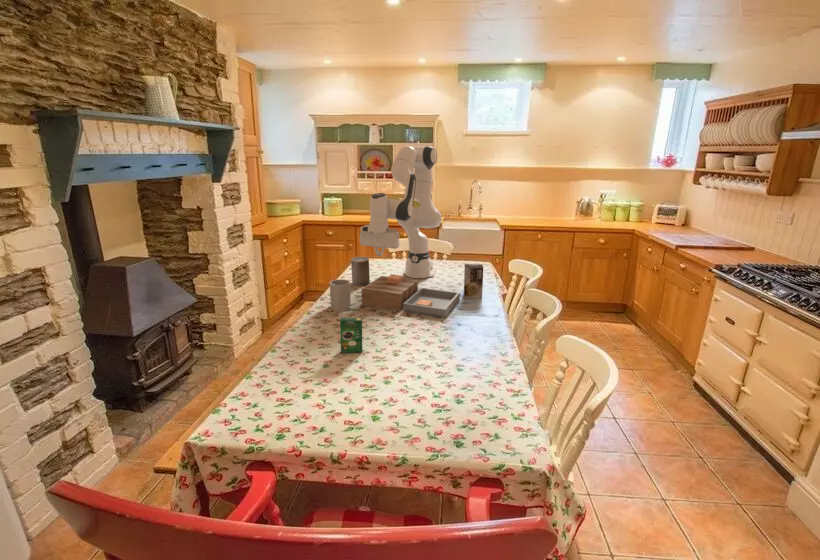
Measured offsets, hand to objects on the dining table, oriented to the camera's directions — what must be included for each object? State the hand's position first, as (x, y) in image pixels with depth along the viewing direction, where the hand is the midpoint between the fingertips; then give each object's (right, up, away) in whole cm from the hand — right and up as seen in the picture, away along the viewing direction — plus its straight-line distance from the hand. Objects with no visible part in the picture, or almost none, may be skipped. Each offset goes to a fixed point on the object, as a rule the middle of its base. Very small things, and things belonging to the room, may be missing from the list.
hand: (379, 255), depth 209 cm
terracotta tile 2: (+7, -13, +1) cm, 15 cm away
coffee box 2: (+46, -20, +4) cm, 51 cm away
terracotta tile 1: (+21, -22, -14) cm, 34 cm away
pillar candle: (-12, -14, +24) cm, 30 cm away
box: (+26, -24, -8) cm, 36 cm away
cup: (-17, -25, -10) cm, 32 cm away
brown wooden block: (+6, -22, -1) cm, 22 cm away
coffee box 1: (-6, -38, -53) cm, 66 cm away
